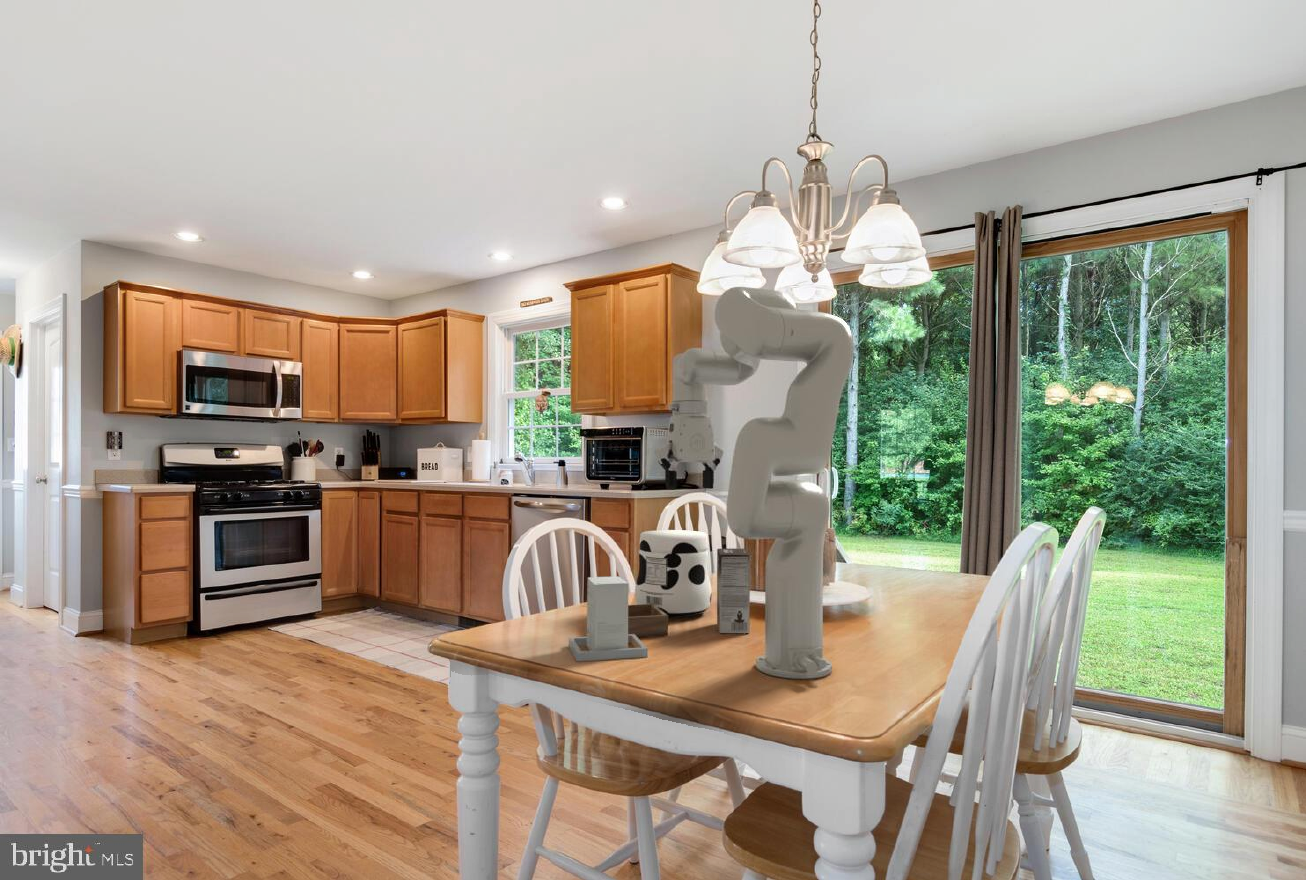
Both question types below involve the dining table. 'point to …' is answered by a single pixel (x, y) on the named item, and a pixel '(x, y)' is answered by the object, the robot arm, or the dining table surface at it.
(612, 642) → the small box
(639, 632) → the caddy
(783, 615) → the robot arm
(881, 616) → the dining table surface
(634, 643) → the tray
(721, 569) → the coffee box
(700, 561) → the milk container
